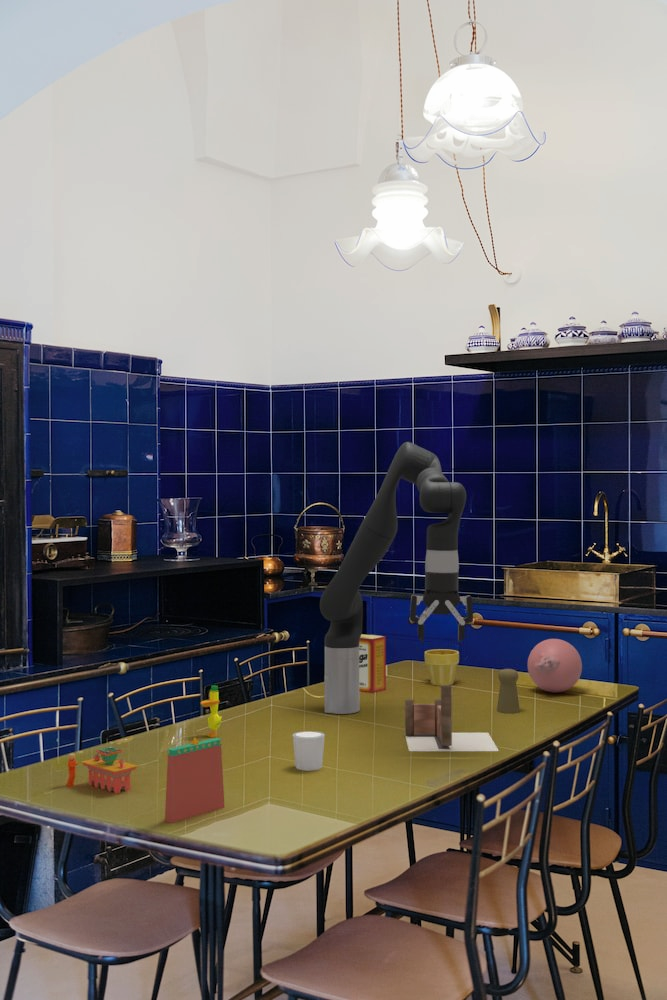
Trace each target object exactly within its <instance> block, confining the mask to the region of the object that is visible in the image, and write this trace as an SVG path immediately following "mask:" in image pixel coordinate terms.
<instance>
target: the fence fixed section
mask: <svg viewBox="0 0 667 1000" xmlns="http://www.w3.org/2000/svg"><path fill="white" fill-rule="evenodd" d="M414 700H415V699H412V698H411V699H410V698H409V699H404V702H405V703H404V706H405V707H404V708H405V709H404V715H405V716H404V719H405V720H404V721H405V722H404V725H405V726H404V729H405V730H404V737H405V736H414V734H435V736H437V706H438V705H441V698H440V699H439V698H438V699H437V698H436V699H434V703H415V701H414Z"/></svg>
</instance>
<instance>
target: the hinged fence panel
mask: <svg viewBox="0 0 667 1000" xmlns="http://www.w3.org/2000/svg"><path fill="white" fill-rule="evenodd" d="M452 689H453V686H452V685H443V686H440V699H441V705H438V706H437V736H438V737H439V739H440V741H441V745H442V746H451V745H452V733H453V732H452V731H453V704H452V703H453V700H452V699H453V697H452V695H453V694H452V693H453V690H452Z"/></svg>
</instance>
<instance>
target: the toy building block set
mask: <svg viewBox="0 0 667 1000" xmlns="http://www.w3.org/2000/svg"><path fill="white" fill-rule="evenodd" d="M221 741H222V738H217V737H212V738H209V739H205V740H201V741H199V740H198V739H197V738H196V737H194V738H193V739H192V740H191V741H190V743H187V744H183V745H180V746H179V745H178V746H175V747H171V748H167V751H168V753H166V755H167V765H166V766H167V767H166V769H167V770H166V784H165V785H166V787H165V789H166V790H165V807H164V808H165V809H164V811H165V812H164V822H166V823H170V824H174V823H177V822H181V821H183V820H188V819H190V818H194V817H197V816H201V815H203V814H207V813H211V812H214V811H217V810H220V809H224V808H225V793H224V792H225V791H224V773H223V772H224V771H223V756H222V753H223V751H222V743H221ZM95 752H96V754H95V755H94V756H93V758H91V759H86V760H82V761H80V763H81V764H82V765H83V766H86V767H87V769H88V785H89V786H94V787H95V788H101V790H107V792H109V793H110V792H114V794H120V793H121V790H123V791H124V792H128V791H130V790H131V772H133V771H134V770H135V771H136V769H137V768H138V767H139V766H138V765H137V764H133V763H129V762H126V761H125V760H124V759H123V758H120V759H117V757H118V754H120V753H122V752H123V750H122V749H119V748H115V747H112V746H109V747H105V748H101V749H97V750H96V751H95ZM99 754H100V755H99ZM67 761H68V762H67V767H68V768H67V769H68V779H67V782H66V786H67V787H74V783H75V779H76V766H78V761H77V760H76V754H75V753H69V754H68V760H67Z"/></svg>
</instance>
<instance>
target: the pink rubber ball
mask: <svg viewBox="0 0 667 1000" xmlns="http://www.w3.org/2000/svg"><path fill="white" fill-rule="evenodd" d="M582 663H583V661H582V658H581V655H580V654H579V651H578V650H577V649H576V648H575V647H574V645H572V644H571V643H569V642H568V641H565V640H563V639H559V638H548V639H545V640H542V641H540V642H539V643H537V644H536V645H535V646H534V647H533V649H532V650H530V653H529V656H528V658H527V672H528V674H529V677H530V679H531V681H532V682H533V683H534V685H535V686H536V687H537V688H539V689H541V690H543V691H545V692H547V693H552V694H553V693H555V694H557V693H558V694H559V693H562V692H565V691H568V690H570V689H572V688H573V687H574V686H575V685H577V684H576V683H578V682H579V679H580V677H581V674H582V671H583V664H582Z"/></svg>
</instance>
